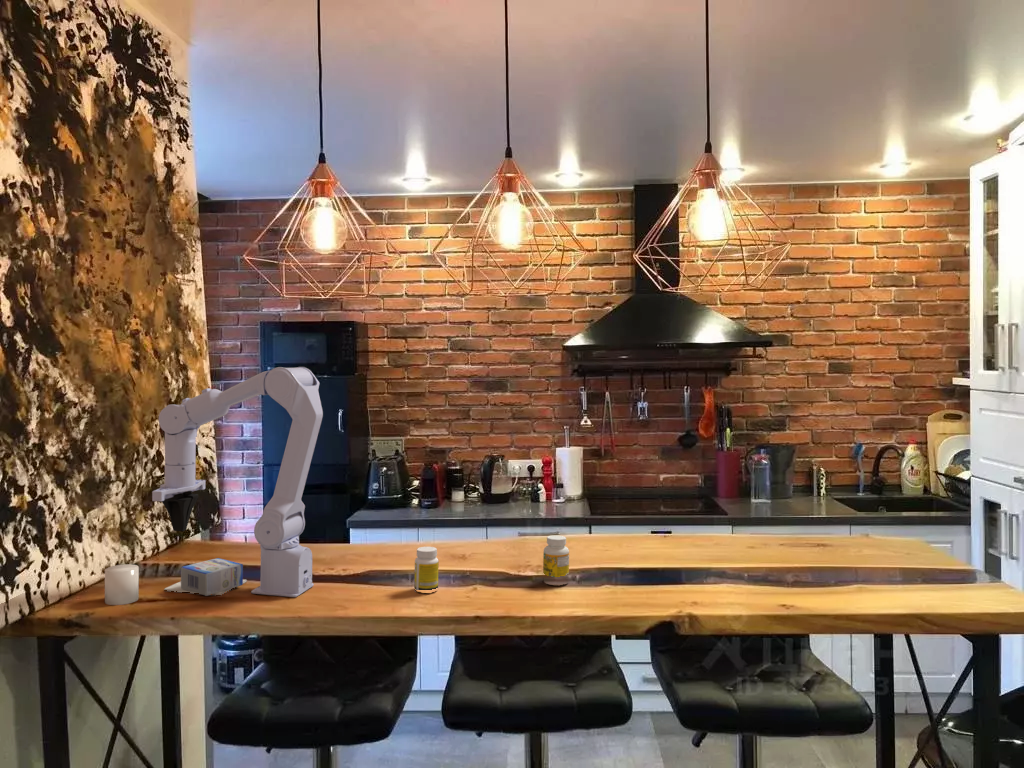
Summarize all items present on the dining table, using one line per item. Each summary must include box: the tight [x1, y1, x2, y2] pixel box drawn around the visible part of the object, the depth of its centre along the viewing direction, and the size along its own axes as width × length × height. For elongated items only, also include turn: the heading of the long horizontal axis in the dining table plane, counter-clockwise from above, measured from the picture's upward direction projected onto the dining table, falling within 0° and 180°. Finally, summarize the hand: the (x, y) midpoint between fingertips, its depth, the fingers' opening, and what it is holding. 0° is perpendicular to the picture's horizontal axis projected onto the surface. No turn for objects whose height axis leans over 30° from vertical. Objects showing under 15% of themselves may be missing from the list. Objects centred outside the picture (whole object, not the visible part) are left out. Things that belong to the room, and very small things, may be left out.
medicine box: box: [180, 557, 244, 597], centre depth 148 cm, size 8×4×9 cm
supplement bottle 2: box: [542, 534, 570, 577], centre depth 157 cm, size 5×5×10 cm
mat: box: [163, 578, 248, 596], centre depth 150 cm, size 12×10×1 cm
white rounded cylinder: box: [104, 563, 140, 606], centre depth 141 cm, size 6×6×6 cm
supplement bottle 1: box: [413, 546, 439, 590], centre depth 150 cm, size 5×5×8 cm
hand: (179, 530), depth 153 cm, fingers closed
